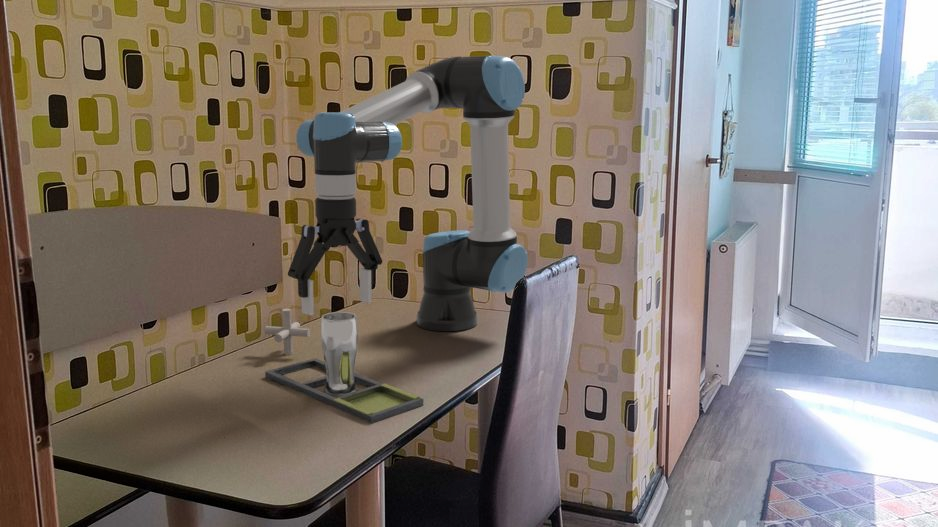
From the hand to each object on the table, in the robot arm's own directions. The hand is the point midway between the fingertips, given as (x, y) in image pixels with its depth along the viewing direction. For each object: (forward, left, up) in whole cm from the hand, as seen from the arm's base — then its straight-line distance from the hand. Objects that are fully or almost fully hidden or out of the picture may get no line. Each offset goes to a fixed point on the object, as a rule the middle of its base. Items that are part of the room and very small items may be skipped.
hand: (337, 307), depth 164 cm
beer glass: (0, 0, -17) cm, 17 cm away
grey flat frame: (0, 0, -17) cm, 17 cm away
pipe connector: (-6, -27, -17) cm, 33 cm away
